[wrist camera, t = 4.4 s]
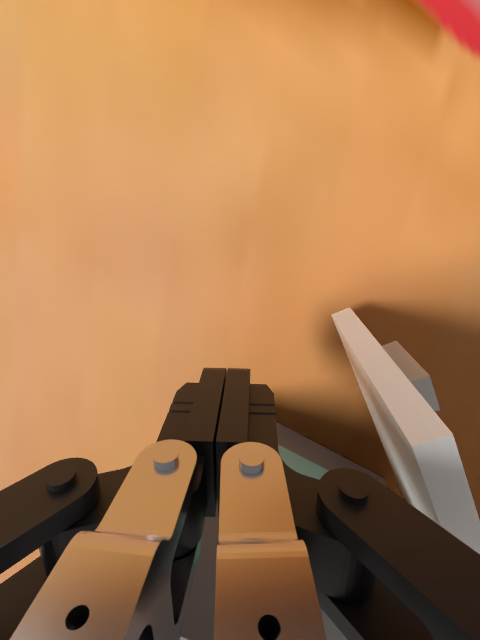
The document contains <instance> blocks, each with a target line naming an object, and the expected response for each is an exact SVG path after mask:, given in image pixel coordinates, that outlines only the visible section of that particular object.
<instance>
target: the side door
mask: <svg viewBox="0 0 480 640" xmlns="http://www.w3.org/2000/svg"><path fill="white" fill-rule="evenodd" d="M331 316H332V318H333V321H334V323H335V326H336V328H337V331H338V333H339V336H340V338H341V341H342V343H343V346H344V348H345V351H346V354H347V356H348V359H349V361H350V364H351V366H352V369H353V371H354V374H355V376H356V379H357V381H358V384H359V386H360V389H361V392H362V394H363V397H364V399H365V402H366V404H367V407H368V409H369V412H370V414H371V417H372V419H373V422H374V425H375V427H376V430H377V432H378V435H379V437H380V440H381V442H382V445H383V447H384V450H385V452H386V455H387V457H388V460H389V463H390V465H391V468H392V470H393V473H394V475H395V477H396V479H397V481H398V483H399V485H400V487H401V489H402V491H403V493H404V495H405V497H406V499H407V501H408V503H409V504H411V505H412V506H413V507H415V508H416V509H418V510H419V511H420V512H422V513H423V514H425V515H426V516H427V517H429V518H430V519H431V520H433V521H434V522H436V523H437V524H438V525H440V526H441V527H443V528H444V529H445V530H447V531H448V532H450V533H451V534H452V535H454V536H455V537H456V538H458V539H459V540H461V541H462V542H463V543H465V544H466V545H468V546H469V547H470V548H472V549H473V550H475V551H476V552H477V553H479V554H480V520H479V516H478V513H477V510H476V507H475V504H474V500H473V497H472V494H471V491H470V487H469V484H468V481H467V478H466V475H465V471H464V468H463V465H462V462H461V458H460V455H459V452H458V449H457V446H456V442H455V439H454V436H453V434H452V432H451V431H450V430H449V429H448V427H447V426H446V425H445V424H444V423H443V421H442V420H441V419H440V418H439V416H438V415H437V414H436V413H435V412H436V411H439V410H440V407H439V403H438V400H437V397H436V394H435V391H434V388H433V384H432V381H431V378H430V375H429V374H428V373H427V372H426V371H425V370H424V369H423V368H422V367H421V366H420V365H419V364H418V363H417V362H416V361H415V359H414V358H413V357H412V356H411V355H410V354H409V353H408V352H407V351H406V350H405V349H404V348H403V347H402V346H401V345H400V344H399V343H398V342H397V340H396V341H393V342H391V343H388V344H385V345H382V346H381V345H380V344H379V343H378V341H377V340H376V339H375V338H374V336H373V335H372V334H371V333H370V332H369V330H368V329H367V328H366V327H365V325H364V324H363V323H362V322H361V320H360V319H359V318H358V317H357V316H356V314H355V313H354V312H353V311H352V309H351V308H350V307H349V308H346V309H344V310H341V311H339V312H336V313H334V314H331Z"/></svg>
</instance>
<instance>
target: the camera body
mask: <svg viewBox="0 0 480 640" xmlns="http://www.w3.org/2000/svg"><path fill="white" fill-rule="evenodd" d="M276 427H277V439H278V450H279V454H280V457H281V458H282V460H283V461H284V462H285V464H286V465H288V466H289V467H290V468H291V469H293V470H294V471H296V472H298V473H300V474H303V475H306V476H309V477H312V478H315V479H319V480H320V479H321V477H322V476H323V475H324V474H325V473H326V472H328V471H330V470H333V469H336V468H351V469H356V470H359V471H362V472H364V473H366V474H368V475H370V476H371V477H373V478H375V479H376V480H377V481H379V482H380V483H381V484H383V485H384V486H386V487H387V484H386V482H385V480H384V478H382V477H381V476H379V475H377V474H375V473H373V472H371V471H369V470H367V469H365V468H363V467H361V466H360V465H358V464H356V463H354V462H352V461H350V460H348V459H346V458H344V457H342V456H341V455H339V454H337V453H335V452H333V451H331V450H329V449H327V448H325V447H323V446H321V445H320V444H318V443H316V442H314V441H312V440H310V439H308V438H306V437H304V436H302V435H301V434H299V433H297V432H295V431H293V430H291V429H289V428H287V427H285V426H283V425H281V424H280V423H278V422H276ZM387 488H388V487H387ZM398 488H399V490H400V492H401V494H402V496H403V499H404V500H405V501H406V502H408V501H407V499H406V497H405V495H404V493H403V491H402V489H401V487H400V485H399V483H398ZM218 540H219V517H218V500H217V508H216V515H215V517H205V521H204V528H203V533H202V537H201V550H200V555H199V559H198V563H197V567H196V572H195V576H194V580H193V584H192V589H191V593H190V597H189V601H188V606H187V610H186V614H185V619H184V623H183V627H182V631H181V636H180V640H214V615H215V586H216V557H217V542H218ZM320 611H321V615H322V620H323V624H324V629H325V634H326V638H327V640H347V639H346V637H345V636H344V635H343V634H342V633H341V631H340V630H339V629H338V628H337V627H336V625H335V624H334V623H333V622H332V620H331V619H330V618H329V617H328V616H327V614H326V613H325V612H324V611H323V610H322V608H321V607H320Z"/></svg>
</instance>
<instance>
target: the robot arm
mask: <svg viewBox="0 0 480 640" xmlns="http://www.w3.org/2000/svg"><path fill="white" fill-rule="evenodd" d="M217 500H218V517H219V540H218V542H217V557H216V586H215V615H214V640H327V638H326V634H325V629H324V624H323V620H322V615H321V611H320V607H321V608H322V610H323V611H324V612H325V613H326V614H327V616H328V617H329V618H330V619H331V620H332V622H333V623H334V624H335V625H336V627H337V628H338V629H339V630H340V631H341V633H342V634H343V635H344V636H345V637H346V639H347V640H480V554H479V553H477V552H476V551H475V550H473V549H472V548H470V547H469V546H468V545H466V544H465V543H463V542H462V541H461V540H459V539H458V538H456V537H455V536H454V535H452V534H451V533H450V532H448V531H447V530H445V529H444V528H443V527H441V526H440V525H438V524H437V523H436V522H434V521H433V520H431V519H430V518H429V517H427V516H426V515H425V514H423V513H422V512H420V511H419V510H418V509H416V508H415V507H413V506H412V505H411V504H409V503H408V502H406V501H405V500H404V499H402V498H401V497H400V496H398V495H397V494H395V493H394V492H393V491H391V490H390V489H388V488H387V487H386V486H384V485H383V484H381V483H380V482H379V481H377V480H376V479H375V478H373V477H371V476H370V475H368V474H366V473H364V472H362V471H359V470H356V469H351V468H336V469H333V470H330V471H328V472H326V473H325V474H324V475H323V476H322V477H321V479H320V480H319V479H315V478H312V477H309V476H306V475H303V474H300V473H298V472H296V471H294V470H293V469H291V468H290V467H289V466H288V465H286V464H285V462H284V461H283V460H282V458H281V457H280V454H279V450H278V439H277V427H276V415H275V403H274V393H273V392H272V391H271V390H270V388H269V387H268V386H267V385H266V384H250V369H236V368H228V370H227V369H226V368H204V369H203V372H202V375H201V378H200V382H199V383H186V384H185V385H183V386H182V387H181V388H180V389H179V390H178V391H177V392H176V394H175V397H174V399H173V403H172V404H171V407H170V409H169V412H168V414H167V417H166V419H165V422H164V424H163V427H162V429H161V432H160V434H159V437H158V439H157V442H156V443H153V444H151V445H149V446H148V447H146V448H145V449H144V450H142V451H141V453H140V454H139V455H138V457H137V458H136V460H135V462H134V464H133V465H132V466H130V467H127V468H124V469H120V470H115V471H111V472H106V473H101V474H98V473H97V469H96V466H95V465H94V463H92V462H91V461H89V460H87V459H84V458H68V459H64V460H60V461H57V462H54V463H52V464H50V465H48V466H46V467H44V468H42V469H41V470H39V471H37V472H35V473H33V474H31V475H29V476H28V477H26V478H24V479H22V480H20V481H18V482H16V483H14V484H13V485H11V486H9V487H7V488H5V489H3V490H1V491H0V574H1V573H3V572H4V571H6V570H7V569H9V568H10V567H12V566H13V565H14V564H16V563H17V562H19V561H20V560H22V559H23V558H25V557H26V556H28V555H29V554H31V553H32V552H33V551H35V550H36V549H38V548H39V551H40V554H41V556H40V557H38V558H37V559H35V560H34V561H33V562H31V563H30V564H28V565H27V566H25V567H24V568H23V569H21V570H20V571H18V572H17V573H15V574H14V575H13V576H11V577H10V578H8V579H7V580H5V581H4V582H3V583H1V584H0V640H180V636H181V631H182V627H183V623H184V619H185V614H186V610H187V606H188V601H189V597H190V593H191V589H192V584H193V580H194V576H195V572H196V567H197V563H198V559H199V555H200V550H201V537H202V533H203V528H204V521H205V517H215V515H216V508H217Z"/></svg>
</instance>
